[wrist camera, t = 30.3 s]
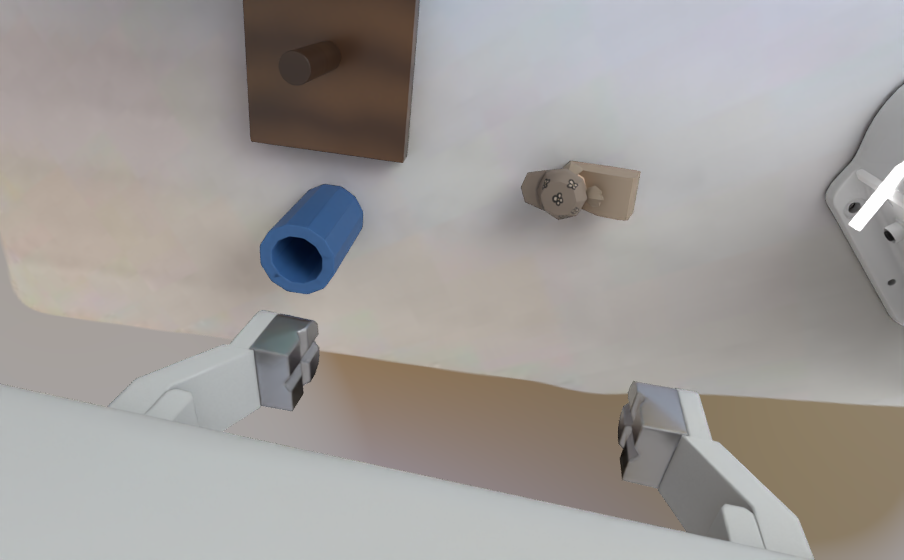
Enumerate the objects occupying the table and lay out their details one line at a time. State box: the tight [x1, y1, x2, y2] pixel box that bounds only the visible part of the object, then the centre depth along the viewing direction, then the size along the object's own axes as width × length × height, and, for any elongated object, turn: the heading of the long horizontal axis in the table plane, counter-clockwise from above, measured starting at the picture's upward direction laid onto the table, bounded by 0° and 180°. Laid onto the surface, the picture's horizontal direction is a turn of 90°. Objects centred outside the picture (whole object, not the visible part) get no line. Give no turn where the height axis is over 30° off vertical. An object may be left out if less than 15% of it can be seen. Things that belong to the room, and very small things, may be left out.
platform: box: [243, 0, 420, 163], centre depth 37 cm, size 14×12×9 cm
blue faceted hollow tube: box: [260, 184, 363, 294], centre depth 43 cm, size 5×5×9 cm
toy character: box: [521, 161, 641, 220], centre depth 42 cm, size 4×8×6 cm, turn 89°
